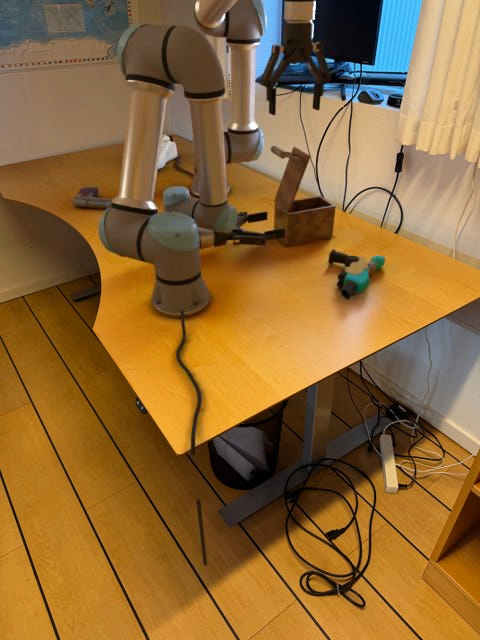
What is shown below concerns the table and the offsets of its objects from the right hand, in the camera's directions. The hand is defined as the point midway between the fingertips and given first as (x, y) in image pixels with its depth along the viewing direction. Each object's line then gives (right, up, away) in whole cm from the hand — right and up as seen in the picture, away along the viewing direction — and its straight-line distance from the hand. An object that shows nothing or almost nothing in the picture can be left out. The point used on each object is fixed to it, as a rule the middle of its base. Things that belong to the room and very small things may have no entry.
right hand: (294, 111), depth 132 cm
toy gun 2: (+15, -46, +2) cm, 49 cm away
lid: (+1, -16, +12) cm, 20 cm away
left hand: (-4, -28, +18) cm, 33 cm away
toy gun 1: (-69, -14, +49) cm, 86 cm away
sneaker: (-53, +13, +86) cm, 102 cm away
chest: (+6, -30, +25) cm, 39 cm away
